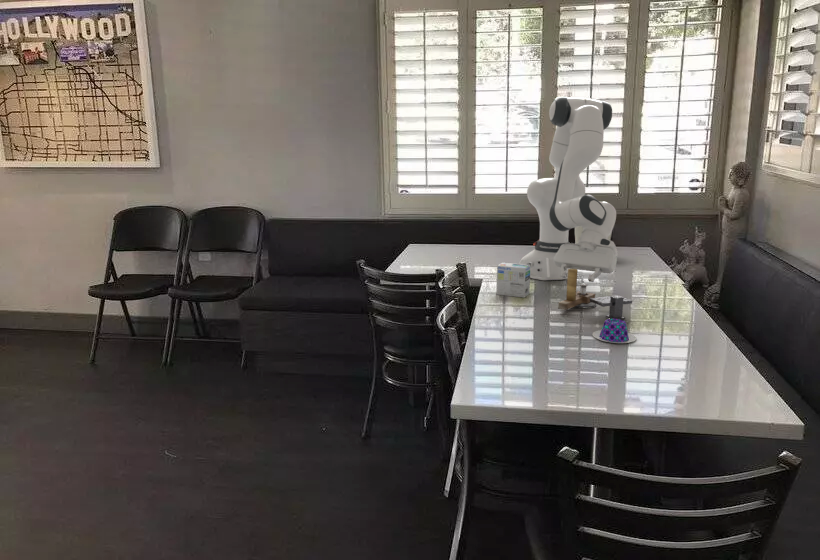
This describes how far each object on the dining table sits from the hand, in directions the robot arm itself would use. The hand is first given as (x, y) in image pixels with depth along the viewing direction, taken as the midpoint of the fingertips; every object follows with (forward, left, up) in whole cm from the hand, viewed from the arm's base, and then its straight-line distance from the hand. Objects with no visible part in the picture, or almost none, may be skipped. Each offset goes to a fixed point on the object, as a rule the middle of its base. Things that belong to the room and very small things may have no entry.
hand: (576, 279), depth 214 cm
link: (-1, +1, -9) cm, 9 cm away
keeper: (+13, -2, -10) cm, 16 cm away
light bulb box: (-25, +6, -10) cm, 28 cm away
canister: (-25, +87, -10) cm, 91 cm away
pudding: (+20, -22, -11) cm, 32 cm away
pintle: (0, +7, -10) cm, 12 cm away
